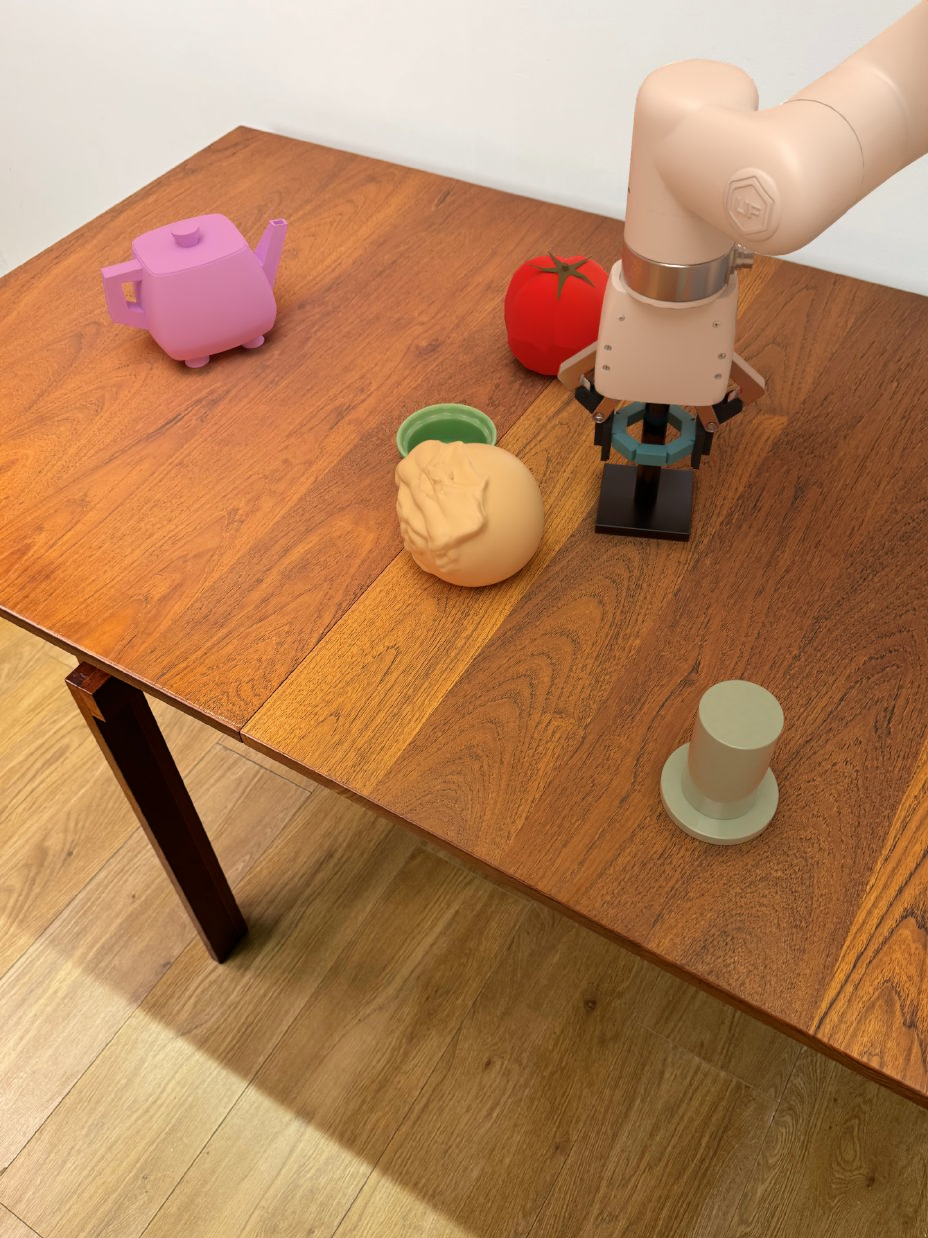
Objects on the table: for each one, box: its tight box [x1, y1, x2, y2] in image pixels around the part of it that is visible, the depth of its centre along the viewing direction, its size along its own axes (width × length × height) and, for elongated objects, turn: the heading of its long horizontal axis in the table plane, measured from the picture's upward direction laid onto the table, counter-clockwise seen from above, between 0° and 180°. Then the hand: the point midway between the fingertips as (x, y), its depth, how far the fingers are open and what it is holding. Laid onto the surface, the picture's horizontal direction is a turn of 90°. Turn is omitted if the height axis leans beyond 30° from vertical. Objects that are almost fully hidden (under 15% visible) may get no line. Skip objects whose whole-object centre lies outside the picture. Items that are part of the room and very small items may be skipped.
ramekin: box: [395, 402, 498, 460], centre depth 90 cm, size 9×9×4 cm
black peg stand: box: [594, 402, 695, 543], centre depth 83 cm, size 8×8×12 cm
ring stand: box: [659, 679, 785, 846], centre depth 66 cm, size 8×8×10 cm
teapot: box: [100, 213, 289, 369], centre depth 102 cm, size 20×12×13 cm, turn 119°
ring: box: [611, 401, 696, 467], centre depth 82 cm, size 7×7×1 cm
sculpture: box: [394, 440, 545, 588], centre depth 81 cm, size 12×12×11 cm
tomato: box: [503, 250, 609, 376], centre depth 97 cm, size 12×12×11 cm
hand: (650, 452), depth 83 cm, fingers closed on ring, 6 cm apart
